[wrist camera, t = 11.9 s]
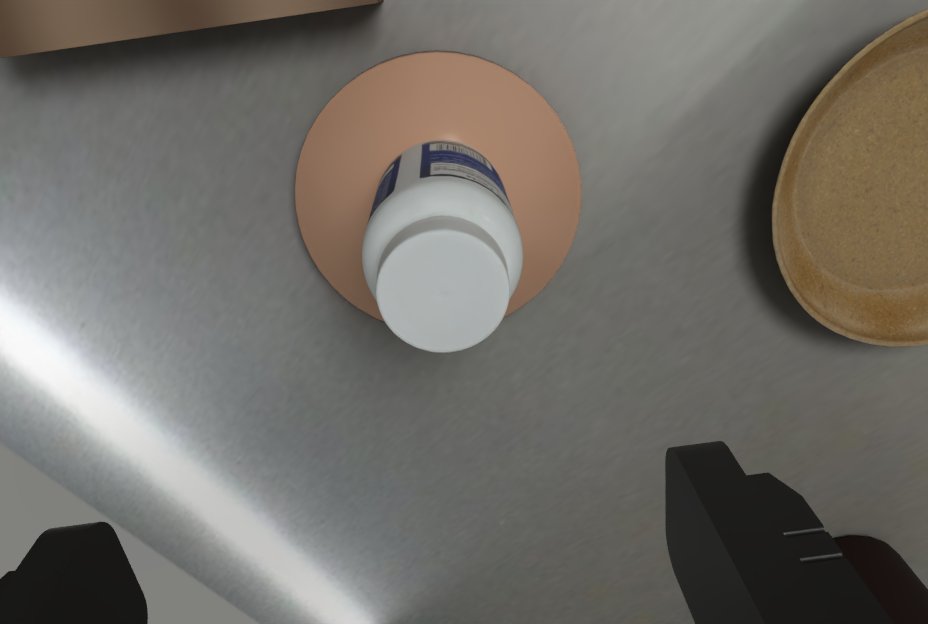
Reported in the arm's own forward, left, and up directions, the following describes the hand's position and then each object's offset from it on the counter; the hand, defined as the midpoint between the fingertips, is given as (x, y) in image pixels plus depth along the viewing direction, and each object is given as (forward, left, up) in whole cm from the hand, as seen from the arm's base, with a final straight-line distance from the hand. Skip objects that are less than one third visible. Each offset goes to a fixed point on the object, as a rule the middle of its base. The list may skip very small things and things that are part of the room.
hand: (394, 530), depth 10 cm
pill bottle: (+1, -1, -21) cm, 21 cm away
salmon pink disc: (+1, -1, -22) cm, 22 cm away
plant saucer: (+22, -3, -22) cm, 31 cm away
